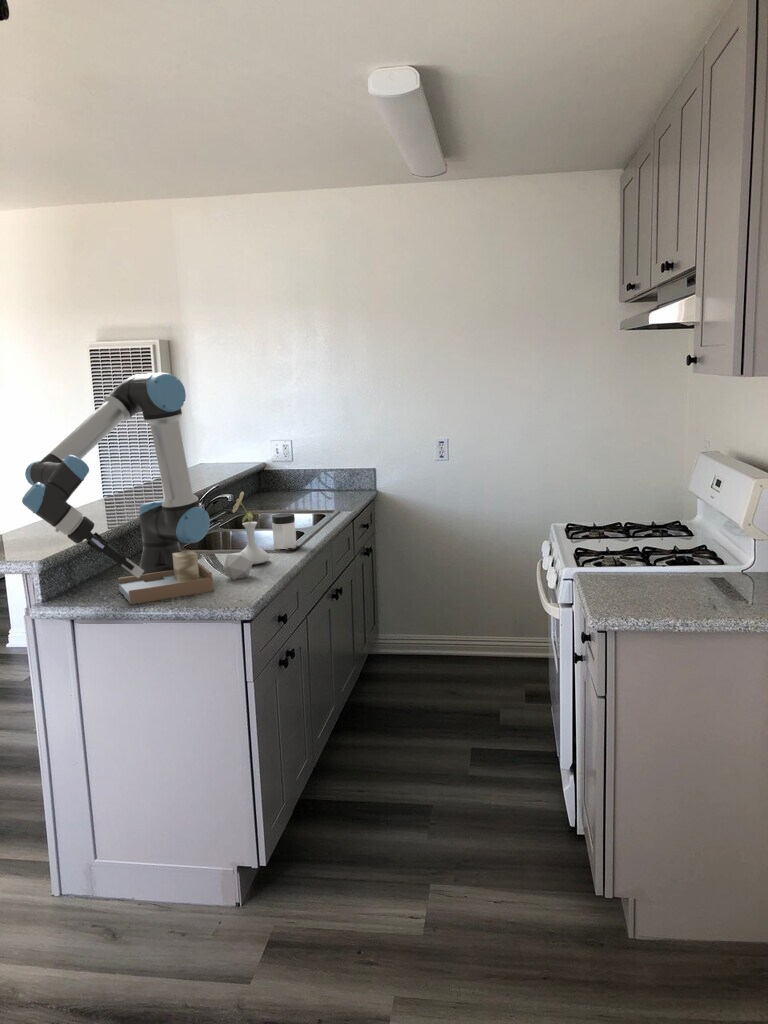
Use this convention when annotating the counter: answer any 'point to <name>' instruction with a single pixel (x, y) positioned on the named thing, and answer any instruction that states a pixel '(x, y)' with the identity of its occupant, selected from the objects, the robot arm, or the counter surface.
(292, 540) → the jar
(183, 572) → the block
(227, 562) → the die
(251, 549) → the flower in vase
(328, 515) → the counter surface
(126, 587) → the box
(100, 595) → the counter surface
